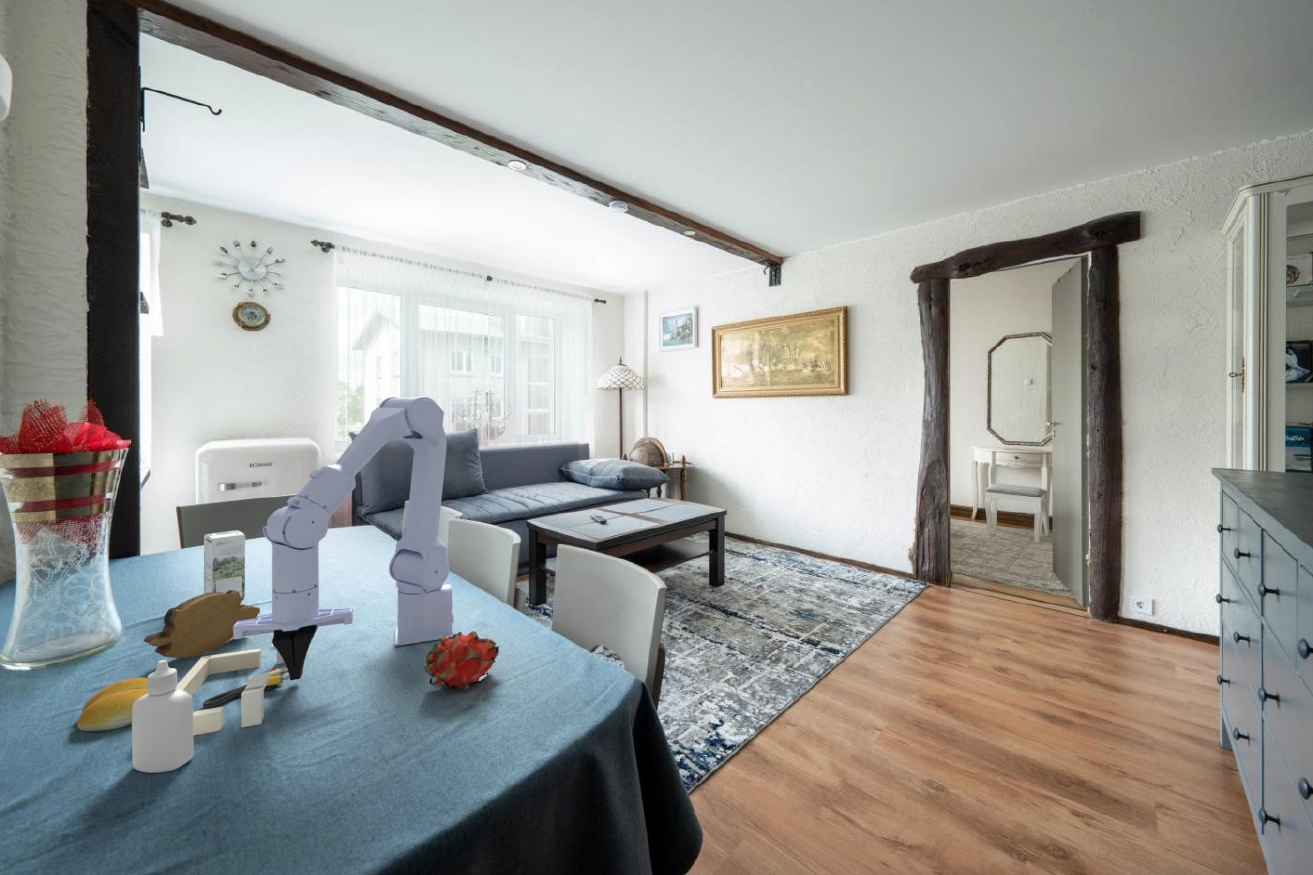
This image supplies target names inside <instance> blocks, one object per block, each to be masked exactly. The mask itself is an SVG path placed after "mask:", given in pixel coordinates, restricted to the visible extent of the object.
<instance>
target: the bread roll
mask: <svg viewBox="0 0 1313 875" xmlns="http://www.w3.org/2000/svg"><path fill="white" fill-rule="evenodd" d="M146 694H148V677H135V678H134V677H133V678H128V679H127V678H126V679H123V680H120V681H117V682H114V683H111V684H109V685H107V686H105V687H104V688H102V689H101V690H99V691H98V692H96V693H95V694H94V695H93V696H91V697H90V698H89V699H88V700H87V701H86V702H85V703H84V705H83V707H82V710H81V714H80V716H79V717H78V719H77V723H76V724H77V727H78V729H79V730H81V731H83V732H99V731H101V732H102V730H103V731H110V730H115V729H116V730H117V729H120V728H125V727H127V726H129V725H132V707H133V704H134V702H135V701H136V700H137V699H139V698H140V697H142V696H144V695H146Z"/></svg>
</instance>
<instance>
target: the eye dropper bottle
mask: <svg viewBox="0 0 1313 875" xmlns="http://www.w3.org/2000/svg"><path fill="white" fill-rule="evenodd" d="M147 678H148V694H146V695H144V696H142V697H140V698H139V699H137V700H136V701H135V702H134V704H133V707H132V724H131V746H132V750H131V752H132V754H131V755H132V767H133V769H134V770H137V771H139V772H142V773H149V774H152V773H153V774H157V773H165V772H171V771H175V770H177V769H179V768H180V767H182V766H184V765H185V764H186V763H189V761H191V760H192V759H193V758H194V753H195V750H194V749H195V748H194V747H195V746H194V738H195V735H194V736H193V712H194V702H193V696H192V697H191V695H190V694H188V693H187V692H185V691H184V690H181V689H179V688H176V687H177V685H178V670H177V669H176V668H172V667H169V664H168V661H167V659H162V660H158V661H157V665H156V669H155V671H153V672H151V673H150V674H149V675H148V676H147Z"/></svg>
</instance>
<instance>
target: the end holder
mask: <svg viewBox="0 0 1313 875" xmlns="http://www.w3.org/2000/svg"><path fill="white" fill-rule="evenodd" d="M262 653H263V652H262V648H255V649H253V648H252V649H249V650H248V649H247V650H242V651H234V652H227V653H226V652H225V653H218V654H213V655H212V654H211V655H204V656H201V657H200V659H199V660H198V661H197V662H195V664H194V665H193V666H192V667H191V669H190V670H188V672H187V673H186V674H185V675H184V677H183V678H182V679H181V680H180V681H179V682H177V687H176V688H179V689H181V690H184V691H185V692H187V693H188V694H190V695H191V697H192V698H193V695H194V694H195V693H196V692H197V691H198V690H199V688H200V687H202V684H203V683H204V682H205V681H206V680H207V678H208V677H209V675H215V674H221V673H228V672H229V673H230V672H233V671H234V672H235V671H241V670H246V669H254V668H259V667H261V665H262ZM223 727H224V706H218V707H211V708H207V709H202V710H196V711H193V736H194V737H195V736H198V735H200V736H201V735H204V734H209V733H215V732H220V731H221V730H222V729H223Z"/></svg>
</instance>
